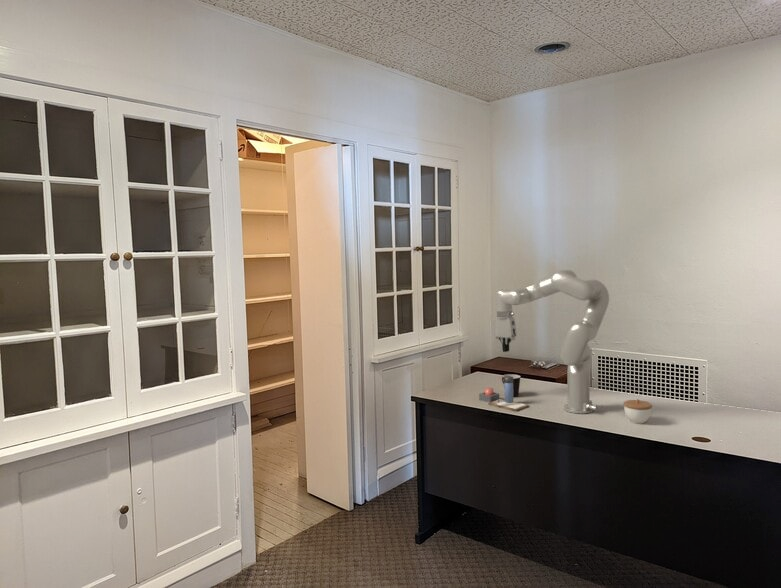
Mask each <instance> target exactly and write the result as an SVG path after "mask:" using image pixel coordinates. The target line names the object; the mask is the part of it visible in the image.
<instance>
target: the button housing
mask: <svg viewBox="0 0 781 588" xmlns="http://www.w3.org/2000/svg"><path fill="white" fill-rule="evenodd" d="M478 395H479V396H478V399H479V401H482V402H486V403H490V402H493V401H496V400H499V399H500V393H498V392H495V391H493V395H485V391H484V392H480V393H478Z"/></svg>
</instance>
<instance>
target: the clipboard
mask: <svg viewBox="0 0 781 588" xmlns="http://www.w3.org/2000/svg"><path fill="white" fill-rule="evenodd" d="M487 403H488V404H487V405H489V406H493V407H497V408H501V409H504V410H508V411H512V412H520V411H522V410H524V409H527V408H530V404H527V403H526V404H525V403H521V402H517V401H513V403H506V402H505V398H499V400H496V401H493V402H487Z"/></svg>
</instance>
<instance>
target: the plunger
mask: <svg viewBox="0 0 781 588" xmlns="http://www.w3.org/2000/svg"><path fill="white" fill-rule="evenodd" d="M484 392H485V395H493V392H494V388H492V387H486V388H484Z"/></svg>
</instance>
